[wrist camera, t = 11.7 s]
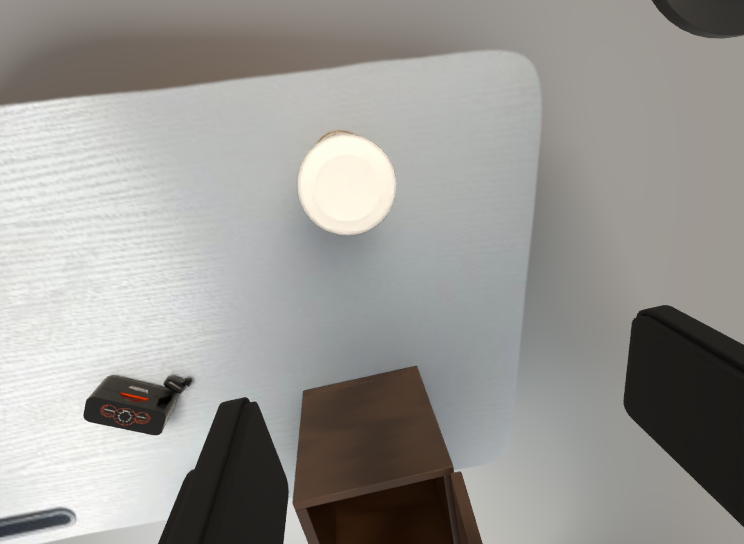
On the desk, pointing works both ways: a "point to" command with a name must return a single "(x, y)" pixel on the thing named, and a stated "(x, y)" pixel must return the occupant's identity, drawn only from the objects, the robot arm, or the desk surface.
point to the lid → (464, 512)
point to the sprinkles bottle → (346, 184)
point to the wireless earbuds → (134, 404)
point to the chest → (373, 464)
